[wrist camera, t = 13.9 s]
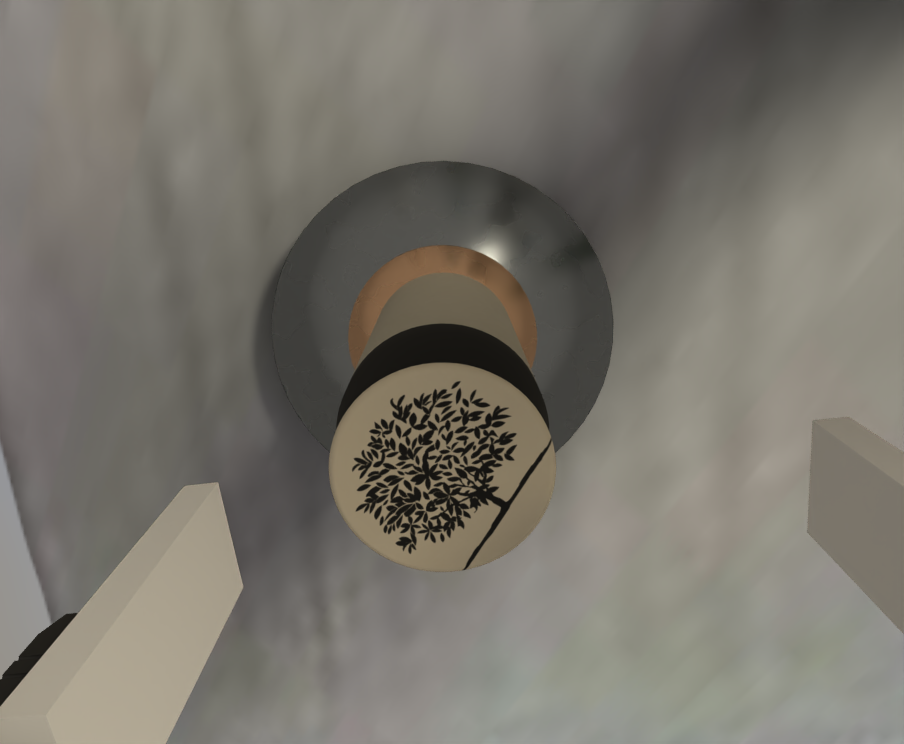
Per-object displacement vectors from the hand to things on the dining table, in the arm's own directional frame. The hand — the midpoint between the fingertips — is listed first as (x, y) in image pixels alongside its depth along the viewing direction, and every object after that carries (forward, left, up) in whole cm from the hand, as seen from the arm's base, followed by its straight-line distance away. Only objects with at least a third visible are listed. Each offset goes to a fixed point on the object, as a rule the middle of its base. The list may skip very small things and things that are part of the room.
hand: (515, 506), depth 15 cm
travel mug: (+2, +2, -25) cm, 25 cm away
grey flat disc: (+2, +2, -27) cm, 27 cm away
